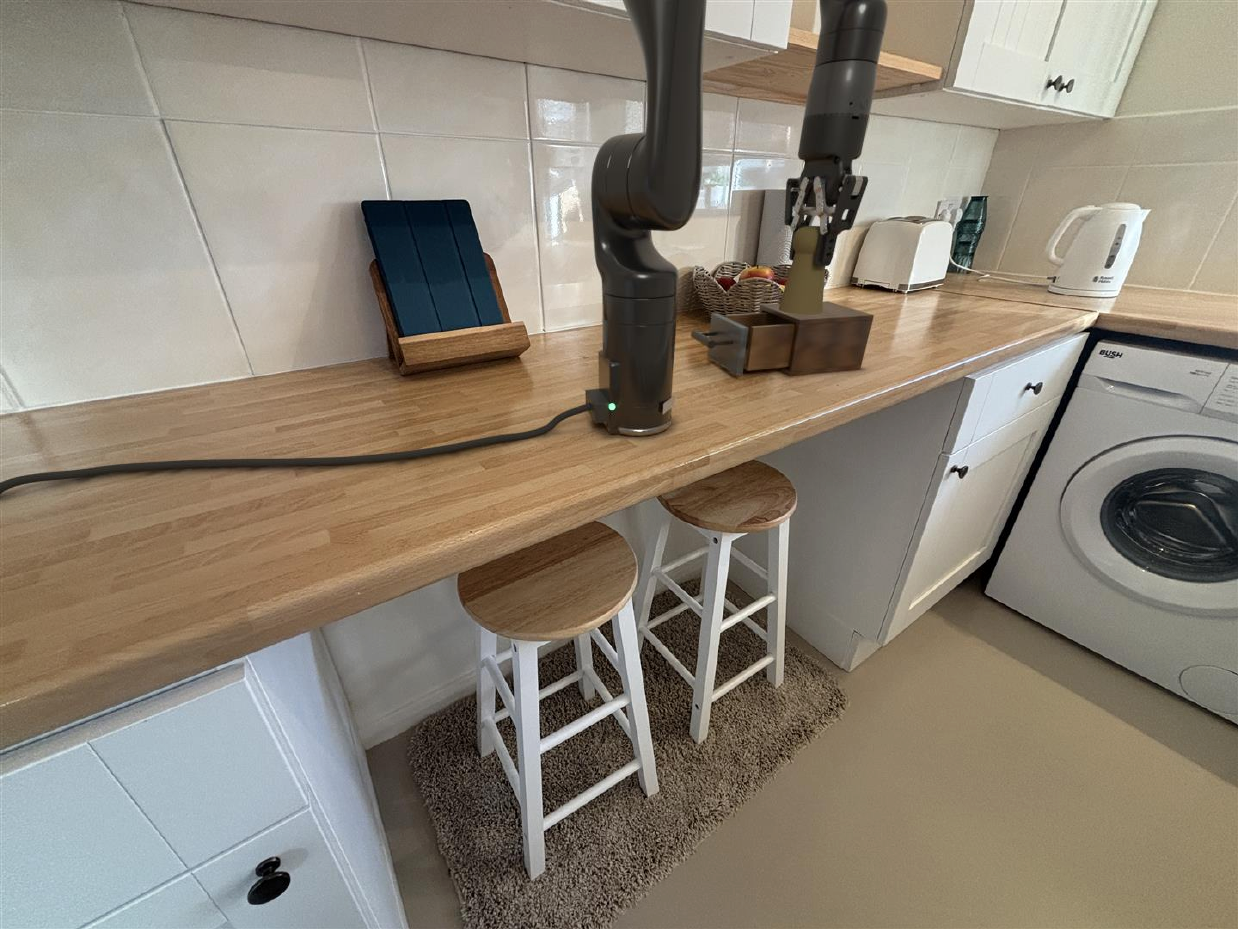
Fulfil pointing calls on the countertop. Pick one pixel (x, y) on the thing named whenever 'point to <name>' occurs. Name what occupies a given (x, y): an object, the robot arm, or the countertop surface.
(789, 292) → the olive chess pawn
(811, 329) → the cabinet
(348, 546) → the countertop surface
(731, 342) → the drawer
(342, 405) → the countertop surface
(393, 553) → the countertop surface
